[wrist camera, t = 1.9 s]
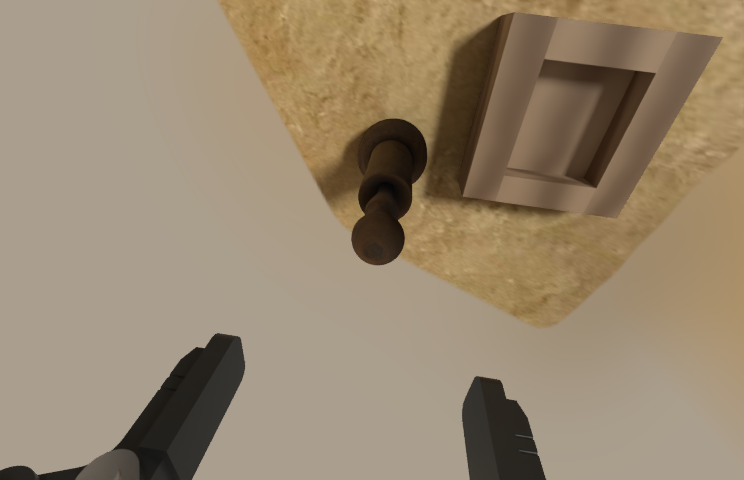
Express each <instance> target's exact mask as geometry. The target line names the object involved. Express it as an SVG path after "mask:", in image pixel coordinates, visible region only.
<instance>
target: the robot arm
mask: <svg viewBox="0 0 744 480" xmlns="http://www.w3.org/2000/svg"><path fill="white" fill-rule="evenodd" d="M244 370H245V361H244V355H243V349H242V343H241V339H240V337H238V336H232V335H226V334H219V333H217V334H215V335H214V336H213V337H212V338H211V340H210V341H209V343H208V344H207V346H206V347H205V348H198V347H196V348H195V349H193V350H192V351H191V352H190V353H188V354H187V355H186V356H185V357H183V358H182V359H181V360H180V361H179V363H178V364H177V365H176V367H175V368H174V369H173V371H172V372H171V374H170V376H169V377H168V378H167V379H166V380H165V382H164V383H163V385H162V386H161V389H160V390H158V391H157V393H156V394H155V396H154V397H153V398H152V400H151V401H150V402H149V404H148V405H147V407H146V408H145V409H144V411H143V412H142V413H141V415H140V416H139V418H138V419H137V420H136V422H135V423H134V424H133V426H132V427H131V429H130V430H129V431H128V433H127V434H126V435H125V437H124V438H123V439H122V441H121V442H120V443H119V444H118V445H117V446H116V447H115V448H114V449H113V450H112V451H110V452H107V453H105V454H104V455H101V456H99V457H98V458H96V459H95V460H93V461H92V462H91V463H89V464H88V465H86V466H83V467H79V468H73V469H68V470H63V471H57V472H52V473H46V474H41V475H37V474H36V473H35V472H34V471H33V470H32V469H30V468H28V467H26V466H13V467H9V468H6V469H3V470H0V480H192V478H193V476H194V474H195V472H196V470H197V468H198V466H199V464H200V462H201V460H202V458H203V456H204V454H205V452H206V450H207V448H208V446H209V444H210V442H211V441H212V439H213V437H214V434H215V432H216V430H217V429H218V427H219V425H220V423H221V421H222V419H223V417H224V415H225V413H226V411H227V409H228V407H229V405H230V403H231V401H232V399H233V397H234V395H235V393H236V391H237V389H238V387H239V385H240V383H241V381H242V378H243V375H244ZM462 421H463V429H464V437H465V445H466V453H467V460H468V468H469V476H470V480H546V478H545V475H544V472H543V469H542V465H541V462H540V458H539V456H538V455H537V448H536V445H535V442H534V440H533V435H532V432H531V428H530V425H529V422H528V418H527V417H526V415H525V413H524V412H523V410H522V409H521V407H520V406H519V404H518V403H517V401H514V400H509V399H506V396H505V392H504V388H503V385H502V383H501V381H500V380H497V379H491V378H484V377H479V376H476V377H475V378H474V380H473V382H472V384H471V387H470V389H469V391H468V393H467V396H466V398H465V401H464V403H463V409H462Z"/></svg>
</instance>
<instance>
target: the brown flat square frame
mask: <svg viewBox="0 0 744 480" xmlns="http://www.w3.org/2000/svg"><path fill="white" fill-rule="evenodd" d="M722 38H723V37H715V36H707V35H698V34H690V33H682V32H674V31H665V30H657V29H649V28H640V27H632V26H624V25H616V24H607V23H599V22H591V21H583V20H574V19H566V18H558V17H549V16H541V15H533V14H525V13H516V12H514V13H510V14H506V15H502V16H501V18H500V22H499V25H498V29H497V33H496V37H495V40H494V44H493V48H492V52H491V56H490V59H489V63H488V67H487V71H486V75H485V78H484V82H483V86H482V90H481V93H480V97H479V101H478V105H477V109H476V112H475V116H474V120H473V124H472V128H471V131H470V135H469V139H468V143H467V147H466V150H465V154H464V158H463V162H462V165H461V169H460V173H459V177H458V183H459V186H460V189H461V193H462V196H463V197H469V198H476V199H483V200H490V201H497V202H504V203H511V204H518V205H525V206H532V207H539V208H546V209H553V210H560V211H568V212H575V213H582V214H589V215H596V216H603V217H610V218H617V217H618V215H619V214H620V212H621V210H622V209H623V207H624V205H625V204H626V202H627V200H628V198H629V197H630V195H631V193H632V192H633V190H634V188H635V186H636V185H637V183H638V181H639V180H640V178H641V176H642V175H643V173H644V171H645V169H646V168H647V166H648V164H649V163H650V161H651V159H652V158H653V156H654V154H655V152H656V151H657V149H658V147H659V146H660V144H661V142H662V141H663V139H664V137H665V135H666V134H667V132H668V130H669V129H670V127H671V125H672V123H673V122H674V120H675V118H676V117H677V115H678V113H679V112H680V110H681V108H682V106H683V105H684V103H685V101H686V100H687V98H688V96H689V95H690V93H691V91H692V89H693V88H694V86H695V84H696V83H697V81H698V79H699V78H700V76H701V74H702V72H703V71H704V69H705V67H706V66H707V64H708V62H709V60H710V59H711V57H712V55H713V54H714V52H715V50H716V49H717V47H718V45H719V43H720V42H721V40H722Z"/></svg>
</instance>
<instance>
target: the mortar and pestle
mask: <svg viewBox="0 0 744 480" xmlns="http://www.w3.org/2000/svg"><path fill="white" fill-rule="evenodd" d="M426 163H427V147H426V143H425V140H424V137H423V135H422V134H421V132H420V131H419V130H418V129H417V128H416V127H415V126H414V125H413V124H411V123H409V122H407V121H405V120H402V119H386V120H383V121H380V122H378V123H376V124H374V125H373V126H372V127H371V128H370V129H369V130H368V131H367V132H366V133H365V135H364V137H363V139H362V141H361V144H360V146H359V150H358V164H359V167H360V170H361V172H362V174H363V175H364V178H363V181H362V184H361V186H360V189H359V194H358V200H359V204H360V207H361V209H362V211H363V212H364V213H365V216H363V217H362V218H361V219H359V220H358V222H357V223H356V224H355V226H354V228H353V231H352V237H351V238H352V239H351V240H352V245H353V248H354V251H355V252H356V254H357V255H358V257H359V258H360V259H362V260H363V261H365V262H366V263H369V264H372V265H384V264H387V263H389V262H391V261H393V260H394V259H396V258H397V257H398V255H399V254H400V253H401V251H402V249H403V246H404V241H405V236H404V231H403V228H402V226H401V224H400V223H399V222H398V219H400V218H401V217H403V216H404V215H405V214H406V213H407V212H408V210H409V208H410V206H411V203H412V184H413V183H414V182H416V181H417V180H418V179H419V177H420V176H421V175H422V173H423V171H424V169H425V166H426Z"/></svg>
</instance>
